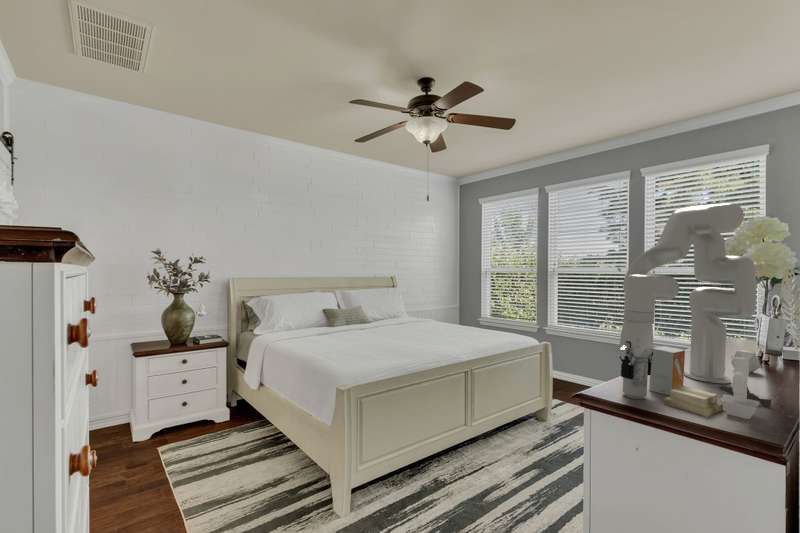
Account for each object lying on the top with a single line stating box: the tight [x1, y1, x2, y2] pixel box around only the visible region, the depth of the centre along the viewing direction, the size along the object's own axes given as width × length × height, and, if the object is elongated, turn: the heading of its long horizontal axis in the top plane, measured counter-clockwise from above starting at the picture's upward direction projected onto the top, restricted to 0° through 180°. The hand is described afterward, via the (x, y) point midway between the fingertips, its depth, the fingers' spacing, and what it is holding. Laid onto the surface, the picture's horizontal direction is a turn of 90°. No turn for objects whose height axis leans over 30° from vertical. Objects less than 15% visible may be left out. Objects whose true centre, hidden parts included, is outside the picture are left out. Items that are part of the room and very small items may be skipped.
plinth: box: [663, 385, 724, 417], centre depth 106 cm, size 10×10×4 cm
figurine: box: [719, 357, 760, 420], centre depth 101 cm, size 7×9×15 cm
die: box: [729, 349, 761, 374], centre depth 145 cm, size 8×9×10 cm
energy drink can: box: [622, 350, 649, 400], centre depth 113 cm, size 6×6×15 cm
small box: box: [648, 345, 686, 397], centre depth 119 cm, size 8×6×13 cm
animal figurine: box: [718, 385, 772, 408], centre depth 112 cm, size 12×4×5 cm, turn 44°
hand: (636, 376), depth 113 cm, fingers open, 9 cm apart
